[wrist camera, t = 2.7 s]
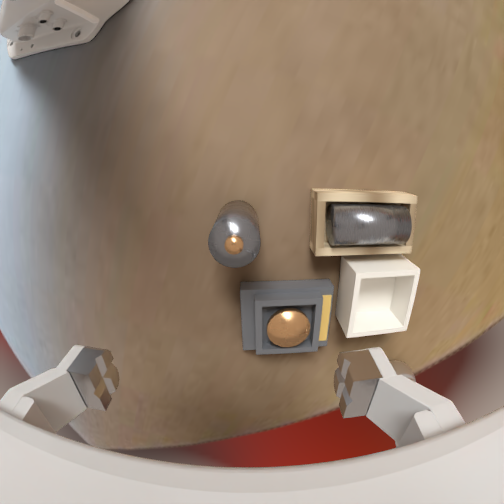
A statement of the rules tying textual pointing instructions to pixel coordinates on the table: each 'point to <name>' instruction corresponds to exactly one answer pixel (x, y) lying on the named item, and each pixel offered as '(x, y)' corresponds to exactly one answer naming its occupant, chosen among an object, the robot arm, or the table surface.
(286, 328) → the copper disc
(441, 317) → the table surface
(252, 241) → the cylinder
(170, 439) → the table surface
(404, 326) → the white square box
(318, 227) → the trough
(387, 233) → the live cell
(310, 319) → the cradle
